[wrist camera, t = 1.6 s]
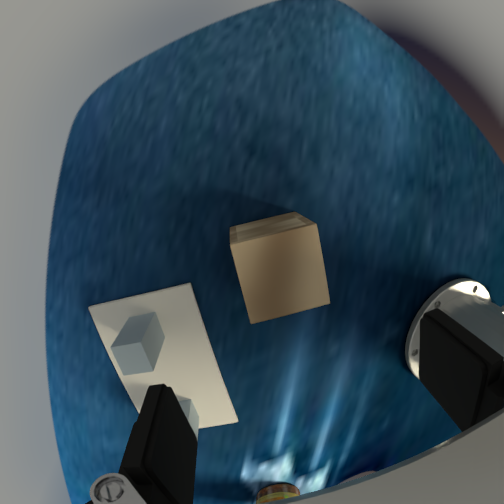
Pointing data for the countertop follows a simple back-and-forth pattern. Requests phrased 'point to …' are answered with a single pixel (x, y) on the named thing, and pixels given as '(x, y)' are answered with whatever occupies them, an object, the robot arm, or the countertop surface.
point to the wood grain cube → (279, 266)
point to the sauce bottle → (276, 493)
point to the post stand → (165, 352)
